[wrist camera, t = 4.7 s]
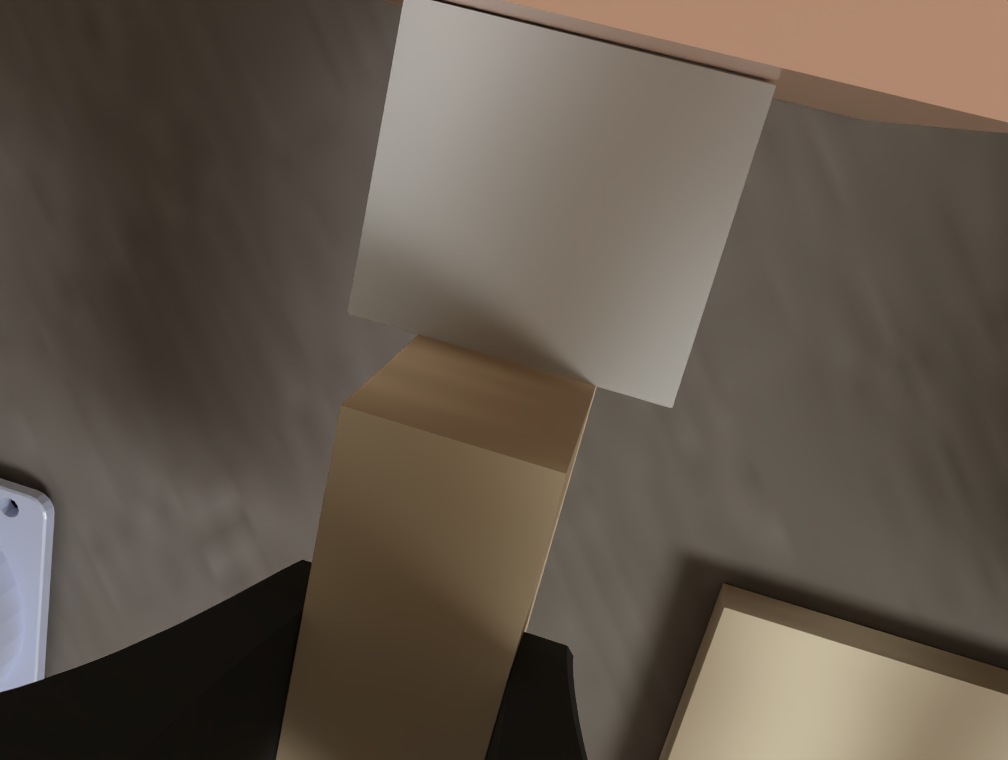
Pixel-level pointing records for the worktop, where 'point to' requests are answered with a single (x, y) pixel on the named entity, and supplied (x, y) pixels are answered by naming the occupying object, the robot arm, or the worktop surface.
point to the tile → (814, 49)
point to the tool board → (830, 692)
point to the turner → (498, 353)
